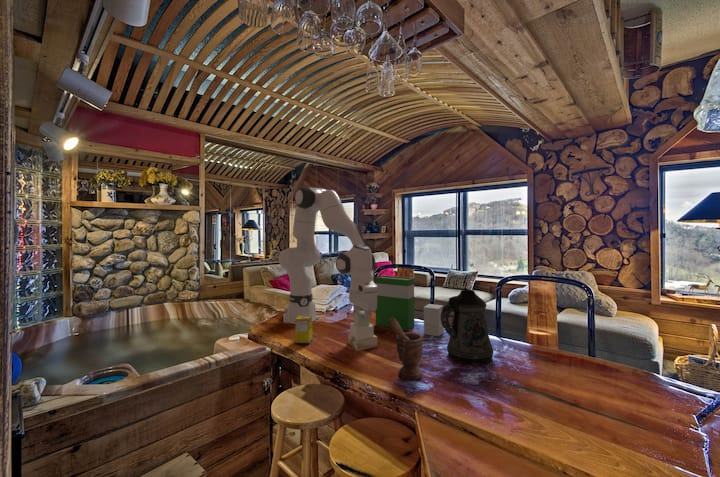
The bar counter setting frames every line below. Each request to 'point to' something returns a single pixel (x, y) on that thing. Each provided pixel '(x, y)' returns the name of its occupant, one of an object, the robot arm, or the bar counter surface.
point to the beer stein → (467, 329)
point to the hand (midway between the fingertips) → (361, 317)
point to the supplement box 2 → (433, 320)
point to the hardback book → (395, 301)
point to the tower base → (362, 342)
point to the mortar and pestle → (408, 351)
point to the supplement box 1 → (303, 329)
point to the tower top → (361, 331)
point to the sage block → (360, 319)
